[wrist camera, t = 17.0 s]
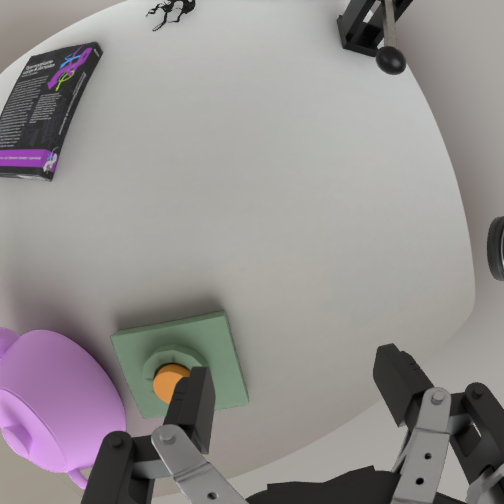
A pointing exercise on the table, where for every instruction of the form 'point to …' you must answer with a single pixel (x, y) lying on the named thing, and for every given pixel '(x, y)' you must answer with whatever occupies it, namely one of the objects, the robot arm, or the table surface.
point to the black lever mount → (365, 25)
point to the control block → (180, 359)
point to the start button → (168, 380)
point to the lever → (390, 43)
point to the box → (43, 110)
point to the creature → (186, 8)
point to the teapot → (55, 402)
